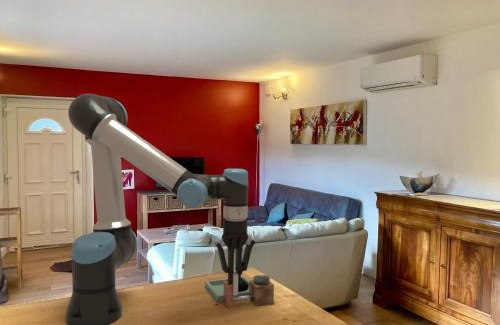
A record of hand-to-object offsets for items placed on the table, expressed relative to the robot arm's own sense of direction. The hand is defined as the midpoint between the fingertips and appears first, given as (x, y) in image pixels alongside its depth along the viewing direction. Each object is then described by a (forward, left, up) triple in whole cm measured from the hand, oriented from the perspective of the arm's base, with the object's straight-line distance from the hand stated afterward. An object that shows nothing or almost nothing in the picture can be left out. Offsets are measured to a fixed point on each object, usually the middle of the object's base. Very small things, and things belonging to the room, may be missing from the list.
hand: (234, 293), depth 130 cm
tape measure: (+5, +10, -3) cm, 12 cm away
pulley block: (+9, 0, -4) cm, 10 cm away
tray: (+3, +11, -4) cm, 12 cm away
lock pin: (+4, 0, -3) cm, 5 cm away
